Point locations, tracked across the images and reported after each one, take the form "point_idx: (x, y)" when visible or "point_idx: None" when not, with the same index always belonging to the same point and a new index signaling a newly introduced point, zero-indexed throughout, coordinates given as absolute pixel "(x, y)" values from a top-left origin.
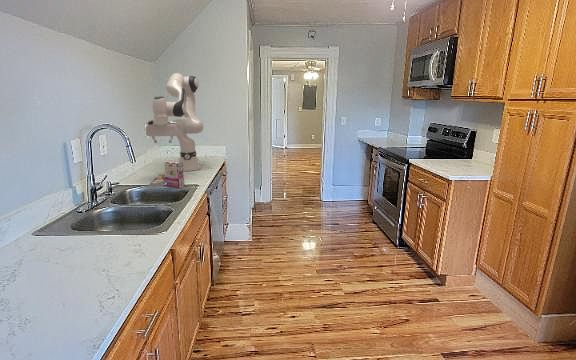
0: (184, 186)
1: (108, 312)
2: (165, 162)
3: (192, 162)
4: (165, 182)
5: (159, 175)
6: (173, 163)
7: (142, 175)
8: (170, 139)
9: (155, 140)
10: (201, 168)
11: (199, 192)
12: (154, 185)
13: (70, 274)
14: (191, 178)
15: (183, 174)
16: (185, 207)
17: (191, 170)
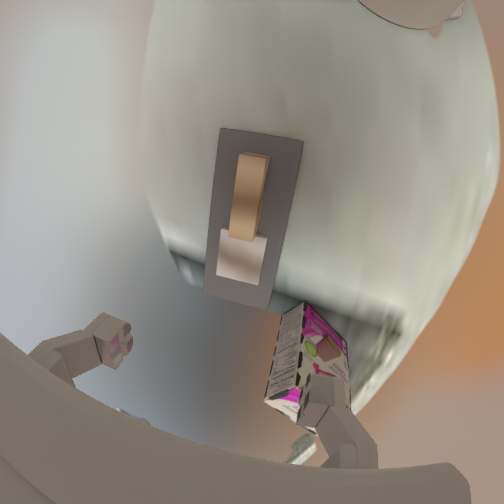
0: (346, 345)
1: None
2: (269, 404)
3: (440, 4)
4: (275, 260)
5: (239, 198)
6: (306, 428)
7: (150, 55)
8: (320, 438)
9: (106, 363)
10: (460, 15)
11: (371, 395)
12: (230, 292)
13: None
14: (408, 206)
15: (349, 381)
16: (311, 446)
17: (416, 27)
